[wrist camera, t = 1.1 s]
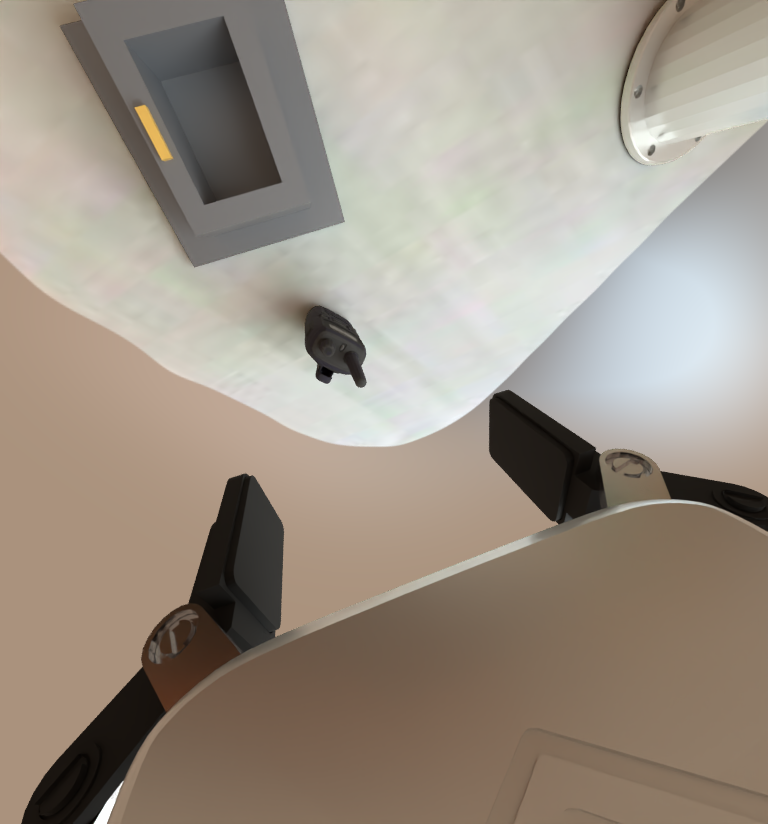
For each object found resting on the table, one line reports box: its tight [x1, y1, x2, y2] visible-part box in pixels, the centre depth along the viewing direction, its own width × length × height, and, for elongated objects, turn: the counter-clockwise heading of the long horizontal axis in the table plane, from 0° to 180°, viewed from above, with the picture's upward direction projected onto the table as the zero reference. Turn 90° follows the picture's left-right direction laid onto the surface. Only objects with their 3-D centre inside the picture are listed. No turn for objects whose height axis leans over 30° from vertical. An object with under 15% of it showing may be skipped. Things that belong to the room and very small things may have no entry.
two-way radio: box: [305, 306, 367, 388], centre depth 26 cm, size 6×4×15 cm
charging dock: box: [60, 0, 345, 267], centre depth 21 cm, size 14×14×6 cm
